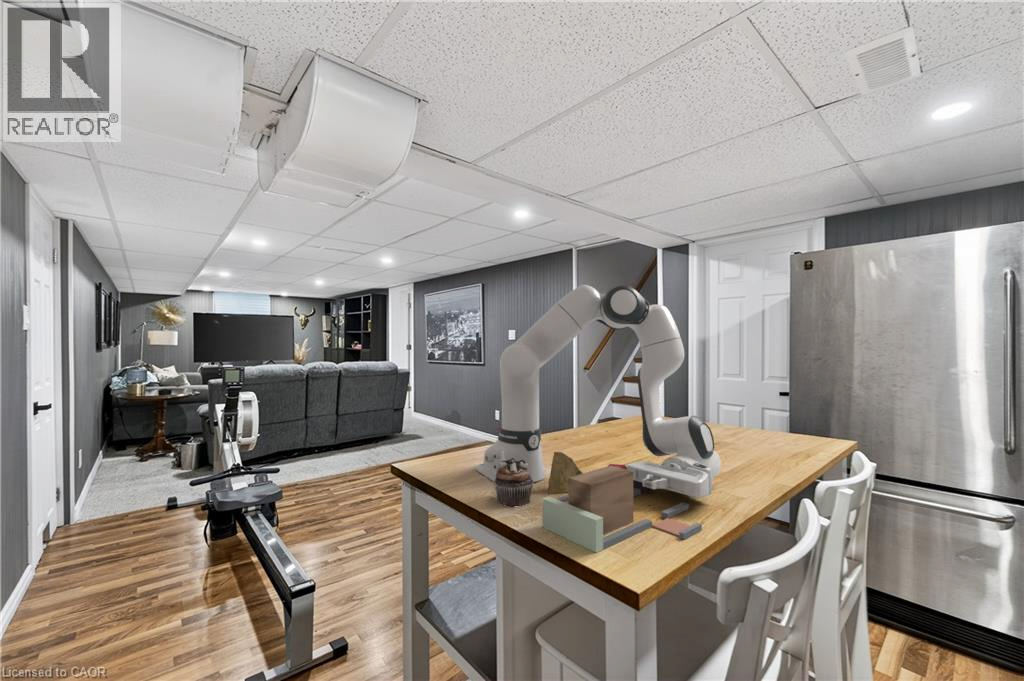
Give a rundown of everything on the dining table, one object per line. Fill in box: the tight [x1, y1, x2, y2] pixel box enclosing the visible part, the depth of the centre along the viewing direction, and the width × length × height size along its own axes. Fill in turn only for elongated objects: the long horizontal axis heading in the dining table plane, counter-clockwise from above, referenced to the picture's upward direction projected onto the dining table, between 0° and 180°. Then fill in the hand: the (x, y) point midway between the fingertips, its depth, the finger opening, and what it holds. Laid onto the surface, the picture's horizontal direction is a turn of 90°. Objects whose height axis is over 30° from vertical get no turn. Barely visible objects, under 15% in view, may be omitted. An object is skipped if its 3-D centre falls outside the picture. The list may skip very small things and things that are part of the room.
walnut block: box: [567, 465, 634, 536], centre depth 91 cm, size 6×14×11 cm, turn 129°
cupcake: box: [494, 458, 534, 508], centre depth 106 cm, size 10×10×10 cm
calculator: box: [606, 463, 649, 495], centre depth 119 cm, size 11×4×15 cm
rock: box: [547, 451, 583, 495], centre depth 113 cm, size 11×9×10 cm
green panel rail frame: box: [541, 488, 703, 554], centre depth 95 cm, size 30×33×6 cm
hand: (647, 484), depth 102 cm, fingers closed
